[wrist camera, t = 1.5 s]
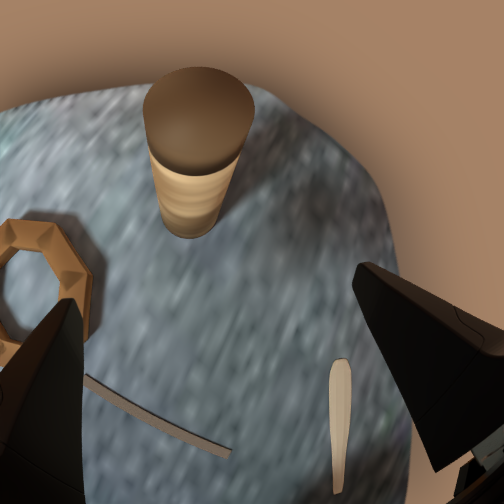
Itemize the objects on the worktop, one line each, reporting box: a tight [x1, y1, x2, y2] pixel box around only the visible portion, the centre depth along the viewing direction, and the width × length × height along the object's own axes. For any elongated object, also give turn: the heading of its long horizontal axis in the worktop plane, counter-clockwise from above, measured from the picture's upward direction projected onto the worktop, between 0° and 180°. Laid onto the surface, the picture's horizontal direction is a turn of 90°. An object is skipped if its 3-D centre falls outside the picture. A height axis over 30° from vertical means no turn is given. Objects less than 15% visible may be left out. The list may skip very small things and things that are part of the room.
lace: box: [83, 374, 231, 459], centre depth 19 cm, size 12×1×1 cm, turn 62°
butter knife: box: [329, 359, 351, 494], centre depth 20 cm, size 1×27×3 cm
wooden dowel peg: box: [143, 67, 255, 239], centre depth 16 cm, size 4×4×12 cm
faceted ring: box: [0, 219, 93, 367], centre depth 18 cm, size 11×11×2 cm
